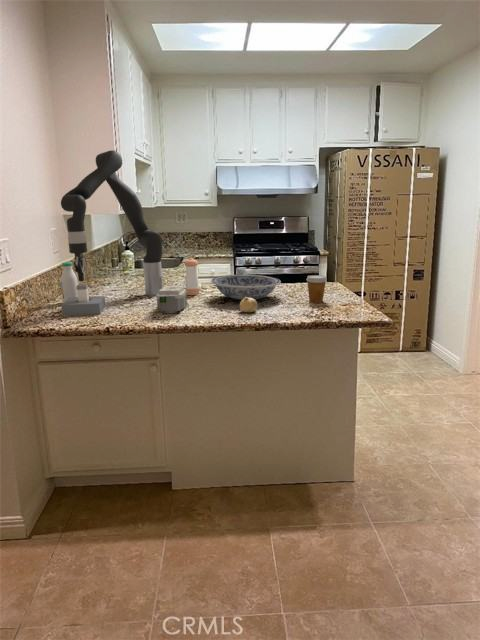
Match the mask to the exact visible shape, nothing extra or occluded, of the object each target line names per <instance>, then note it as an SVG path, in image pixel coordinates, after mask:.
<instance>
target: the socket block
mask: <svg viewBox="0 0 480 640" xmlns="http://www.w3.org/2000/svg"><path fill="white" fill-rule="evenodd" d="M105 308H106V296H105V295H100V296H98V295H97V296H89V302H78V297H72V298H68V299H67V300H66V301H65V302H64V303H62V304H61V313H62V317H72V316H73V317H74V316H75V317H76V316H77V317H78V316H95V315H101V314H102V313H103V311H104V310H105Z"/></svg>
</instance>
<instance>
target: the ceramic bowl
mask: <svg viewBox="0 0 480 640" xmlns="http://www.w3.org/2000/svg"><path fill="white" fill-rule="evenodd" d="M210 282H211V283H212V284H214V285H215V286H216V288H217V289H218V291H219V292H220V294H222V295H224V296H225V297H227V298H229V299H234V300H241V301H242V300H243V299H244V298H245V297H248V298H253V299H255V300H259V299H263V298H266V297H267V296H268V295H270V294H271V293H272V292H274V289H276V287H277V286H279V285H280V284H281V283H282V281H281V280H280V279H279V278H277V277H272V276H266V275H257V274H231V275H230V274H226V275H220V276H216V277H213V278H212V279H211V280H210Z"/></svg>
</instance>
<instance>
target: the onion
mask: <svg viewBox="0 0 480 640" xmlns="http://www.w3.org/2000/svg"><path fill="white" fill-rule="evenodd" d="M258 305H259V304H258V302H257V299H253V298H248V297H245V298H244V299H243V300H241V301H240V303H239V309H240V311H241V312H242V313H255V312H256V311H257V309H258Z"/></svg>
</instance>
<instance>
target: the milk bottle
mask: <svg viewBox="0 0 480 640" xmlns="http://www.w3.org/2000/svg"><path fill="white" fill-rule="evenodd" d="M61 266H62V274H61V276H60V286H61V296H62V301H63V303H64V302H65V301H66V300H67V299H68V298H72V297H78V295H77V287H76V286H77V285H79V283H78V276H77V275H76V273H75V272H74V269H73V266H74V265H73V262H72V261H64V262H62V263H61ZM63 303H62V304H63Z"/></svg>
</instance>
